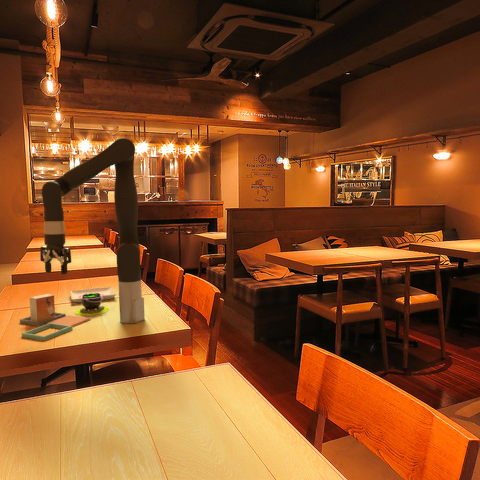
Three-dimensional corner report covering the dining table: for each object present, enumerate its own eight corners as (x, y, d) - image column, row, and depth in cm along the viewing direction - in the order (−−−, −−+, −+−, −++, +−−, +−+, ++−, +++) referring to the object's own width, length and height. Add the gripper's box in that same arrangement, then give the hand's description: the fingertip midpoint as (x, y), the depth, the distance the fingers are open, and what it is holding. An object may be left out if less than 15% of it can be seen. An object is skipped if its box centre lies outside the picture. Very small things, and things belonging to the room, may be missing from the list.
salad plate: (70, 296, 215) (69, 290, 214) (111, 292, 224) (111, 286, 223) (71, 305, 196) (71, 299, 195) (116, 300, 205) (116, 294, 204)
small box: (37, 323, 167) (35, 298, 166) (30, 321, 170) (29, 297, 169) (55, 319, 173) (54, 295, 172) (49, 316, 177) (47, 293, 175)
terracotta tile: (90, 319, 171) (90, 318, 171) (68, 328, 160) (68, 326, 160) (69, 316, 176) (69, 315, 176) (46, 324, 165) (46, 323, 165)
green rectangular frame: (72, 329, 158) (72, 326, 158) (44, 340, 146) (43, 336, 146) (51, 326, 163) (50, 322, 163) (21, 337, 151) (21, 333, 150)
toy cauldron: (98, 316, 176) (97, 292, 175) (67, 315, 179) (66, 290, 178) (115, 307, 191) (114, 284, 190) (86, 306, 194) (85, 283, 193)
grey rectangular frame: (65, 317, 176) (65, 313, 175) (39, 326, 163) (39, 322, 163) (46, 314, 180) (46, 311, 180) (19, 323, 168) (19, 319, 168)
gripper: (75, 232, 159) (76, 273, 160) (49, 231, 165) (51, 270, 166) (60, 234, 152) (61, 276, 153) (33, 232, 158) (35, 273, 159)
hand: (56, 273), depth 160 cm, fingers open, 8 cm apart
